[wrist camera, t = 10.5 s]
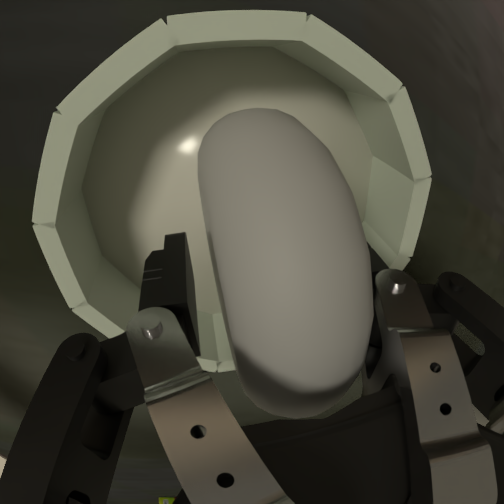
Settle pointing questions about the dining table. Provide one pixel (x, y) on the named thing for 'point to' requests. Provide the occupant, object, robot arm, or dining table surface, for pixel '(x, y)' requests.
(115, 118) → the bowl
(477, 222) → the dining table surface
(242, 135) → the donut
